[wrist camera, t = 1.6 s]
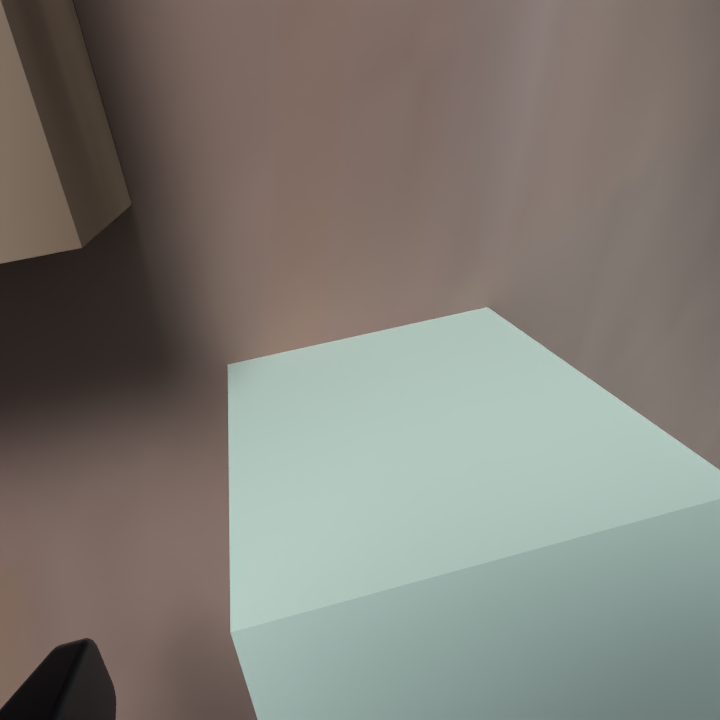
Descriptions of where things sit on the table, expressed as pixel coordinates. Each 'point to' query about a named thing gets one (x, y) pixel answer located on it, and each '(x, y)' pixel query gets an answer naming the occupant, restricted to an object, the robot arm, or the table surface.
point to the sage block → (464, 536)
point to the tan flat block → (52, 135)
